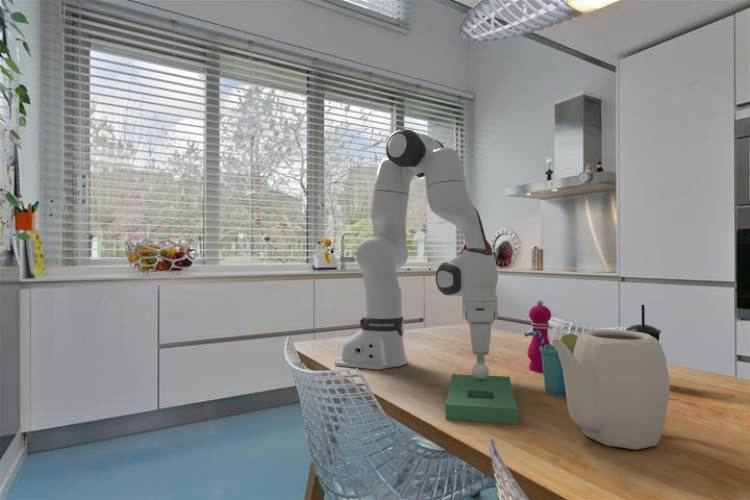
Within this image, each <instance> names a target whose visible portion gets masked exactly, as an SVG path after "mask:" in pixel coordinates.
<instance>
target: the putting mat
mask: <svg viewBox="0 0 750 500" xmlns="http://www.w3.org/2000/svg"><path fill="white" fill-rule="evenodd" d="M518 412H519V411H518V406H517V401H516V397H515V394H514V389H513V385H512V380H511V377H510V376H503V375H502V376H501V375H500V376H499V375H488V376H487V378H485V379H483V380H479V379H476V378H475V377H474V376H473V374H465V373H463V374H461V373H452V374H451V378H450V382H449V387H448V392H447V396H446V401H445V420H451V421H452V420H453V421H465V422H466V421H467V422H478V423H479V422H480V423H492V424H493V423H495V424H506V425H507V424H508V425H509V424H510V425H519V423H518V422H519V416H518Z"/></svg>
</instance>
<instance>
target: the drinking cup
mask: <svg viewBox="0 0 750 500" xmlns="http://www.w3.org/2000/svg"><path fill="white" fill-rule="evenodd" d="M640 306H641V310H640V311H641V324H634V325H631V326H629V327H627V328H626V329H625V330H627V331H634V332H641V333H645V334H648V335H650V336H652V337H654V338H656V339H657V340H658V341H660V335H661V333H662V330H661V329H658V328H657V327H655V326H652V325H648V324H646V323H645V322H646V320H645V319H646V318H645V315H646V313H645V311H646V309H645V308H646V307H645V304H641V305H640Z"/></svg>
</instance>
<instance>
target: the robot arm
mask: <svg viewBox="0 0 750 500" xmlns="http://www.w3.org/2000/svg"><path fill="white" fill-rule="evenodd" d="M385 152H386V153H385V154H386V158H383V160H382V161H380V163H379V166H378V168H377V171H376V175H375V179H374V180H375V181H374V187H373V192H372V193H373V194H372V200H371V206H370V207H371V209H370V219H371V223H372V226H373V236H372V237H368V238H366V239H364V240H363V241H362V242H360V243H359V244H358V246H357V248H356V251H355V259H356V262H357V264H358V266H359V268H360V270H361V274H362V279H363V284H364V289H365V307H366V308H365V310H366V311H365V313H366V314H365V316H363V317H362V318H361V319H360V320H359V326H360V329H359V330H357V331H356V332H355V333H354V334H353V335H352V336H350V337H349V338H348V339H346V341H344V344H343V346H342V351H341V355H338V356H337V357H336V358H335V359H334V365H335V366H339V367H340V366H341V367H347V368H348V367H349V368H357V369H358V368H360V369H369V370H376V371H378V370H380V371H381V370H384V369H389V368H396V367H397V368H398V367H401V366H404V365H406V364H407V363H408V359H407V355H406V350H405V345H404V344H405V343H404V338H403V337H404V336H403V335H404V331H405V330H404V327H405V325H404V323H405V322H404V316H403V314H402V310H403V309H402V307H403V305H402V290H401V287H400V285H399V282H398V275H397V271H398V270H400V269H401V268H402V267H403V266H404V265H405V264H406V263H407V261H408V257H409V253H408V248H407V226H406V225H407V212H408V205H409V204H408V202H409V197H410V187H411V182H412V179H413V178H414V177H415V176H416V177H417V178H425V186H426V187H425V189H426V197H427V198H426V199H427V203H428V205H429V207H430V210H431V211H432V212H433V213H434V214H435V215H436V216H438V217H439V218H441V219H442V220H445V221H447V222H449V223H451V224H453V225H454V226H455V227H456V228H458V229H459V230H460V232H461V233H462V235H463V238H464V242H465V247H466V248H465V249H464V250H462V253H461V254H460V255H459V256H456V257H454V259H451V260H448V261H445V262H442V263H441V264H440V265H439V266H438V267H437V270H436V273H435V284H436V286H437V289H438V291H439V292H440V293H441V294H442V295H444V296H447V297H462V298H461V299H462V300H461V302H462V303H461V305H462V306H461V307H462V308H461V309H462V310H461V311H462V319H465V321H466V323H467V325H468V328H469V334H470V335H469V336H470V341H471V343H470V344H471V351H472V354H473V355H476V364H477V363H483V364H485V356H487V355H488V354H489V352H490V346H491V345H490V344H491V337H492V336H491V334H492V326H493V325H494V324H493V323H495V320H497V319H498V318H499V315H498V314H499V313H498V310H499V309H498V308H499V307H498V295H497V292H496V291H497V289H496V288H497V285H498V278H499V275H498V269H497V268H498V267H497V260H496V258H495V255H494V253H493V252H492V251H491V250H490V249H489V246H488V241H487V238H486V234H485V230H484V226H483V223H482V219H481V216H480V214H479V211H478V210H477V207H475V206H474V204H473V203H472V201H471V198H470V196H469V193H468V188H467V184H466V177H465V176H466V175H465V172H464V167H463V164H462V161H461V157H460V155H459V152H457V150H455V149H454V148H451V147H448V146H447V147H445V146H444V145H443V143H441V142H440V141H439V140H437V139H434V138H433V137H431V136H429V135H426V134H424V133H420V132H416V131H414V130H411V129H406V128H403V129H402V128H401V129H396V130H395V131H393V132H392V133H391V134H390V136H389V137H388V139H387V141H386V144H385Z"/></svg>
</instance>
